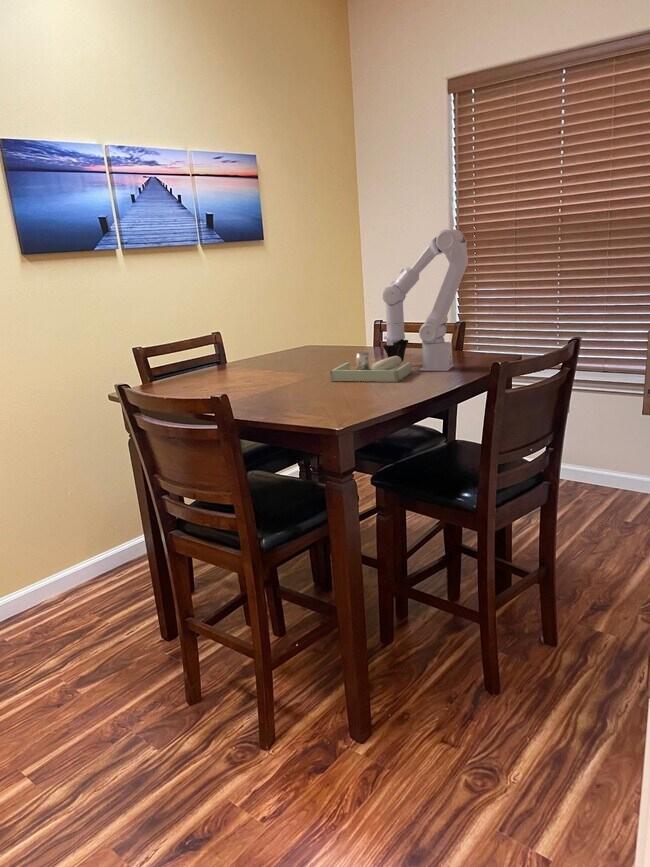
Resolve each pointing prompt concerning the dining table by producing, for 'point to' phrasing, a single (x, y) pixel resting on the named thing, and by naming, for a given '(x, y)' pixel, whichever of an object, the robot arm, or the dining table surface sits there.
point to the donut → (387, 363)
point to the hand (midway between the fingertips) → (396, 363)
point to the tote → (369, 374)
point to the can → (362, 361)
